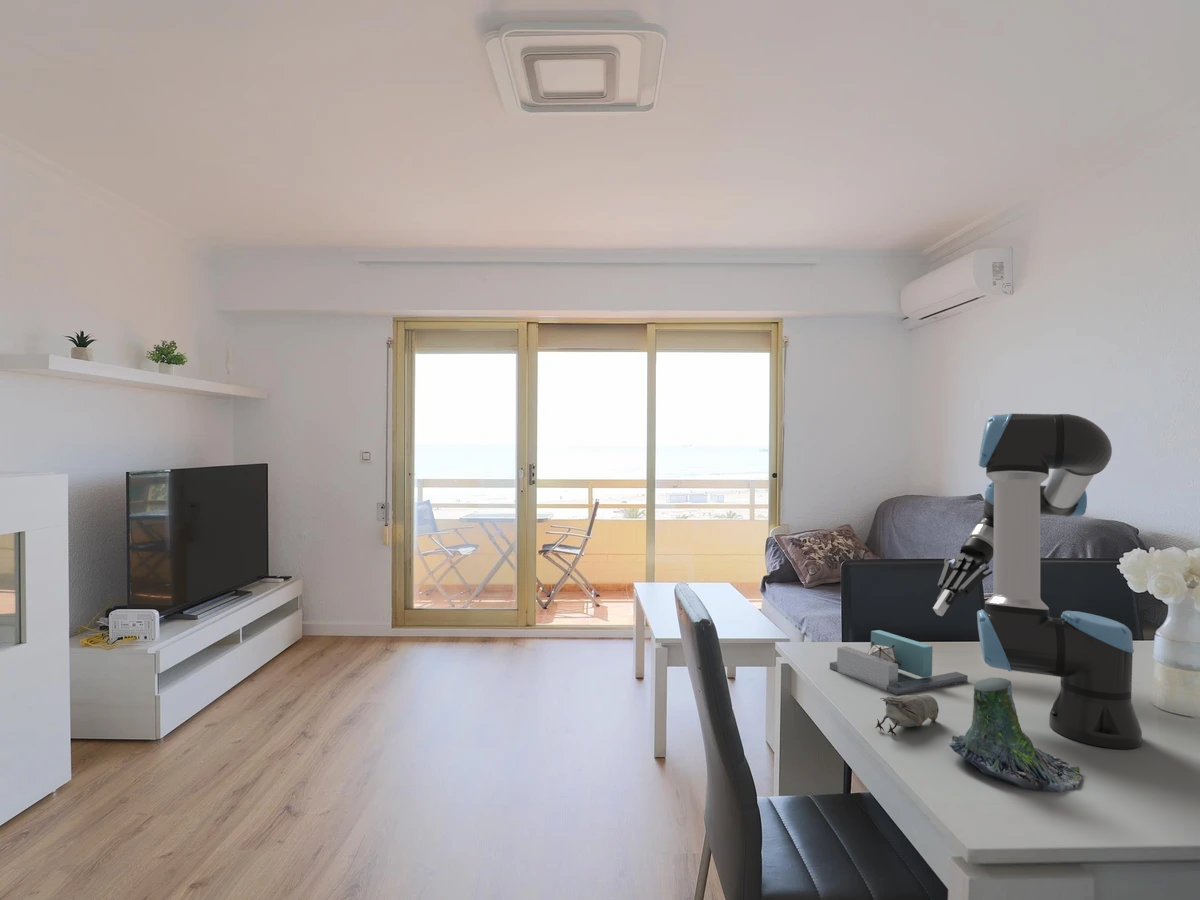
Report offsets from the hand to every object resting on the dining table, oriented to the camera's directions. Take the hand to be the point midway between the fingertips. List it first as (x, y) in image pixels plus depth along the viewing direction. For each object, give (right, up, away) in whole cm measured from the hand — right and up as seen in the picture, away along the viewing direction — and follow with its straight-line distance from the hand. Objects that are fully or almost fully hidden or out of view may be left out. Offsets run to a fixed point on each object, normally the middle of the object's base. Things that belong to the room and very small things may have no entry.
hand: (937, 612), depth 182 cm
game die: (-18, -14, -8) cm, 24 cm away
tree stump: (-14, -15, -57) cm, 61 cm away
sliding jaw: (-12, -12, -6) cm, 18 cm away
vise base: (-14, -14, -7) cm, 21 cm away
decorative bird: (-25, -15, -40) cm, 49 cm away
